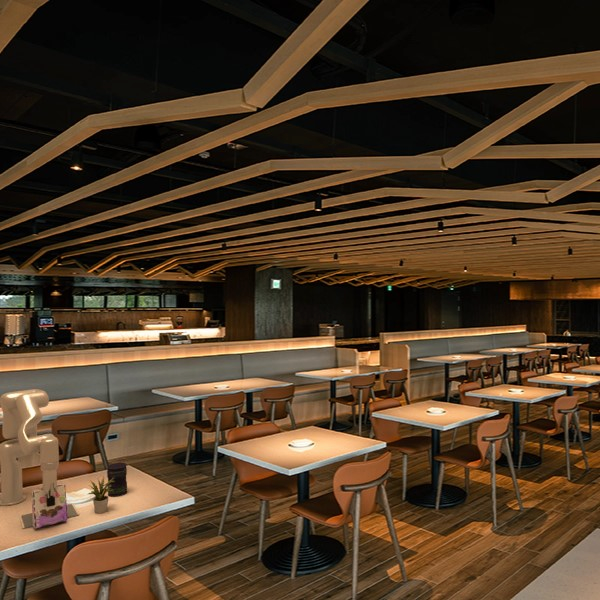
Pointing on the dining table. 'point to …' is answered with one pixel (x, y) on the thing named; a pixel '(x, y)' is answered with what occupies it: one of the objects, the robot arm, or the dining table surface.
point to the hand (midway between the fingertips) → (50, 505)
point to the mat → (28, 519)
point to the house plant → (100, 496)
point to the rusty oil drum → (117, 479)
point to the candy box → (48, 514)
